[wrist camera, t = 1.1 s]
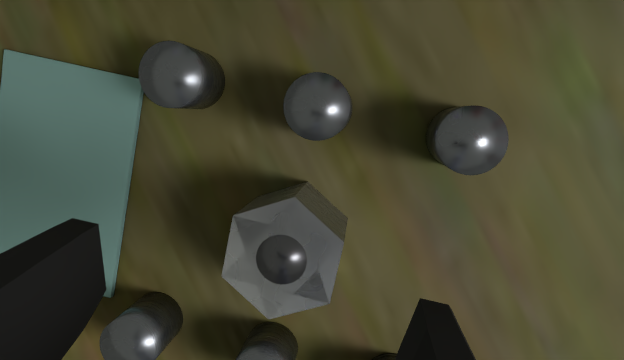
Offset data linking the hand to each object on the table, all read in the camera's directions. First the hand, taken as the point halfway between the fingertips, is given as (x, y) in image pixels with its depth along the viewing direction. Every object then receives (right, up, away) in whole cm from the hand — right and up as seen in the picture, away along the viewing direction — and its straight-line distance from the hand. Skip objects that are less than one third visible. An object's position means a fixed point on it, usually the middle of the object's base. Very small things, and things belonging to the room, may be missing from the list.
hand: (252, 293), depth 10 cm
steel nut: (+1, 0, +11) cm, 11 cm away
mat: (-11, +3, +12) cm, 17 cm away
